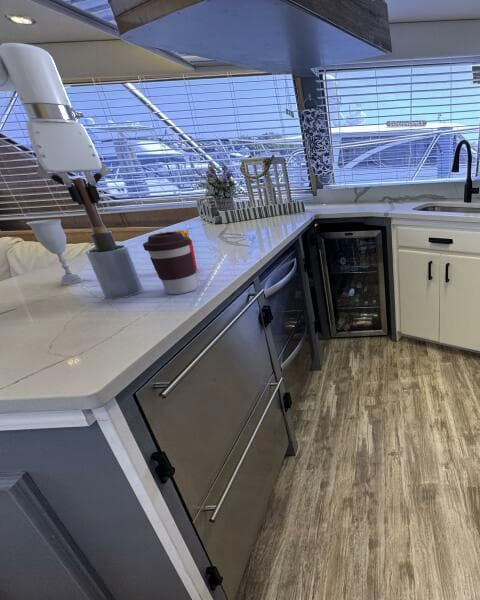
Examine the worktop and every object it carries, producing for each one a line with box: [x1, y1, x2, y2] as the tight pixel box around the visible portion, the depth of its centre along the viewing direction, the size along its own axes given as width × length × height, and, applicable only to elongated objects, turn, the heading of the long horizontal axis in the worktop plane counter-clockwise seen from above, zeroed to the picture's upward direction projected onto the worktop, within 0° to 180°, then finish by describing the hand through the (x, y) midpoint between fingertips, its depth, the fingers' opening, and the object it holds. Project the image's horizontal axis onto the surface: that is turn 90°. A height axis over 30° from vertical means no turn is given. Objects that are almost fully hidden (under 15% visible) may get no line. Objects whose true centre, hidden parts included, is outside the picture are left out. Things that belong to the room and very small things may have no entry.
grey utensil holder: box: [85, 244, 144, 299], centre depth 83 cm, size 8×8×12 cm
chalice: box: [26, 218, 85, 286], centre depth 93 cm, size 7×7×18 cm
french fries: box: [159, 229, 198, 271], centre depth 99 cm, size 9×4×13 cm, turn 137°
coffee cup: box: [142, 231, 199, 295], centre depth 83 cm, size 10×10×15 cm
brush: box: [71, 178, 118, 252], centre depth 78 cm, size 4×4×18 cm
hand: (88, 203), depth 77 cm, fingers closed on brush, 2 cm apart
